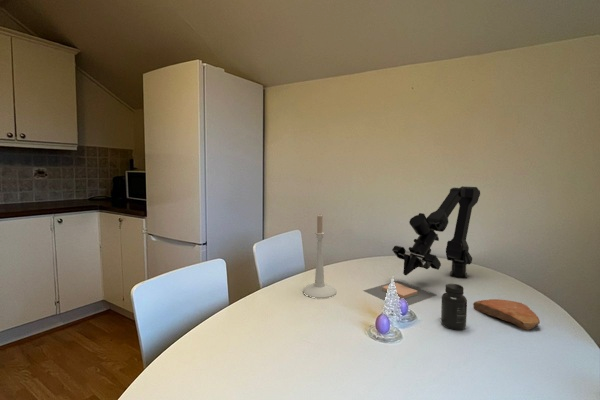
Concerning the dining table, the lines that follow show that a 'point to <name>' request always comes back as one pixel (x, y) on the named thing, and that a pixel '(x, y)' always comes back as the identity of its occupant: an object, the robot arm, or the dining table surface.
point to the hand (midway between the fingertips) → (404, 274)
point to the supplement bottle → (454, 307)
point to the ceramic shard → (509, 312)
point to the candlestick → (319, 270)
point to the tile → (402, 291)
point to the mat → (420, 297)
